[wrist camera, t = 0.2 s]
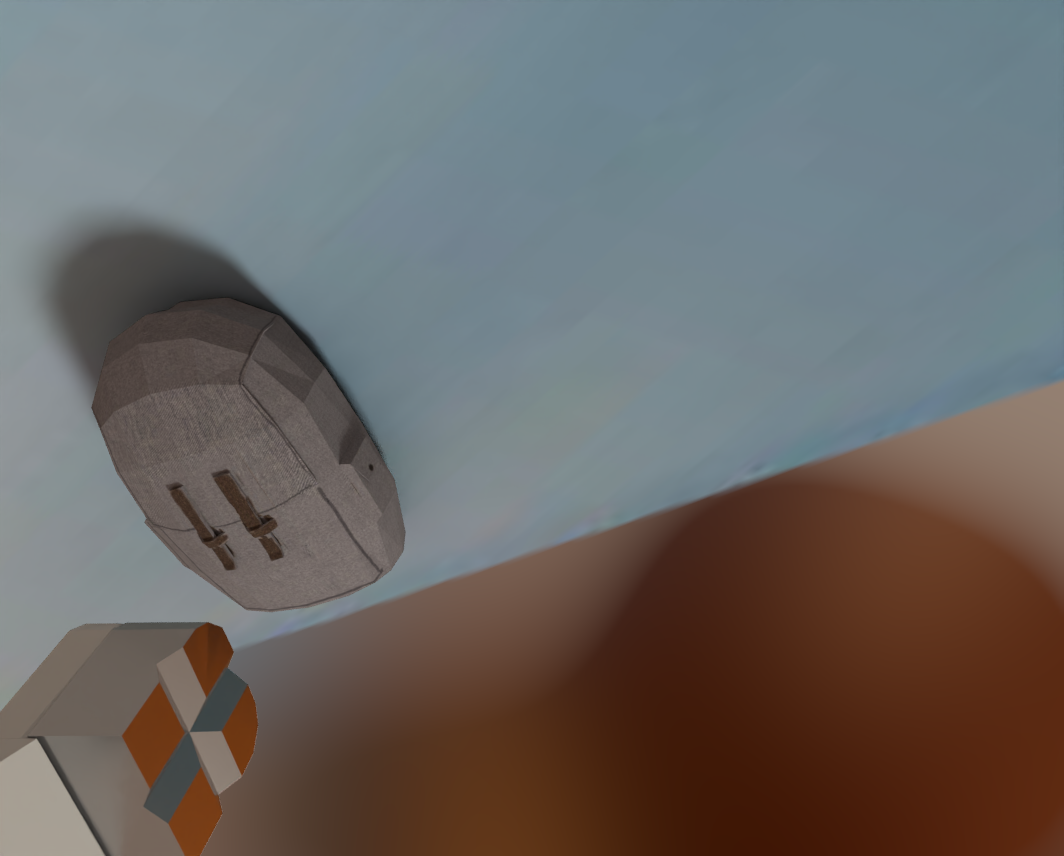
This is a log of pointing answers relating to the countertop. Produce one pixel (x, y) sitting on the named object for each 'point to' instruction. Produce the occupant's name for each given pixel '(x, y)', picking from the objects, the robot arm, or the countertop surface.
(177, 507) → the grey rounded bag
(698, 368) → the countertop surface
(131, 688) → the robot arm
